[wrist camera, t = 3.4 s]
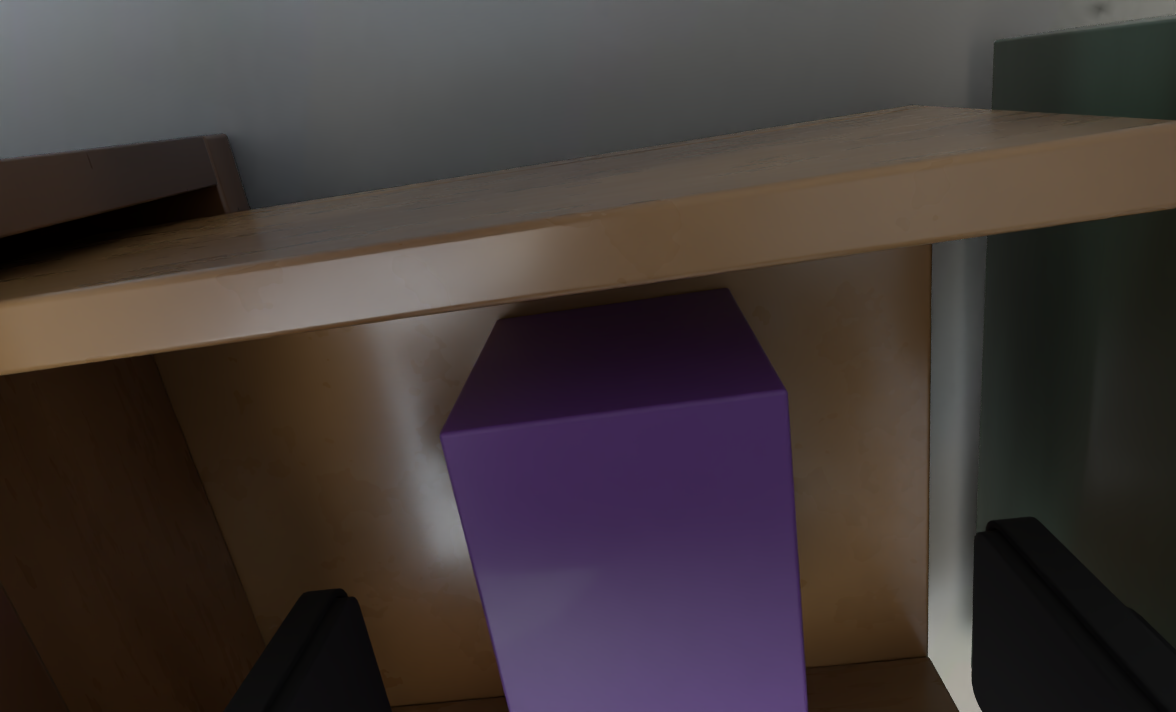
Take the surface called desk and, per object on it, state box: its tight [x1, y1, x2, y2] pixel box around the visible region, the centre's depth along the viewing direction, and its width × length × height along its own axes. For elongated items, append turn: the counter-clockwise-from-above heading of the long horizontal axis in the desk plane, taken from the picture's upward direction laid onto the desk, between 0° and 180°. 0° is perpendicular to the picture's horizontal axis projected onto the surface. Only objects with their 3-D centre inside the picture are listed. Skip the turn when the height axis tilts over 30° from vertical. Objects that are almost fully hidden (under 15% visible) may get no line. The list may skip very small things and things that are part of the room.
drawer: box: [0, 14, 1176, 712], centre depth 12 cm, size 22×14×7 cm, turn 99°
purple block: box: [439, 288, 808, 712], centre depth 12 cm, size 7×4×5 cm, turn 9°
